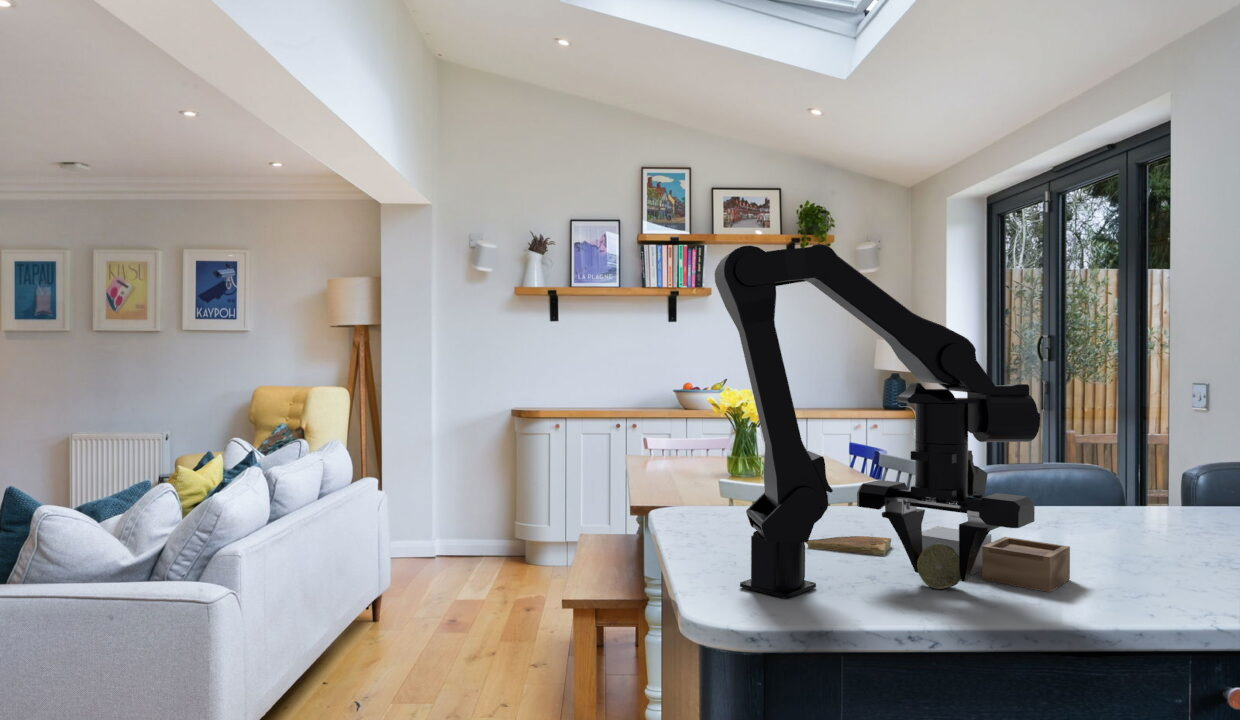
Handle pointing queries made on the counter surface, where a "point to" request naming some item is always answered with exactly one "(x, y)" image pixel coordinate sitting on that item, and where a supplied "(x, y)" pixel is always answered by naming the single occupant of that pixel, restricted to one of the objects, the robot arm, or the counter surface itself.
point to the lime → (939, 566)
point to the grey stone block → (951, 542)
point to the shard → (853, 544)
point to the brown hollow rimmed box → (1026, 563)
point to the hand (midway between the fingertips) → (941, 576)
